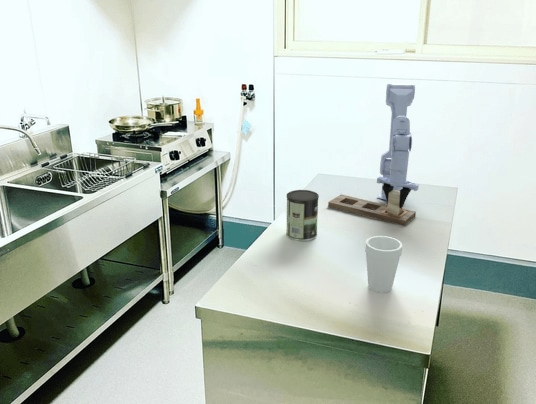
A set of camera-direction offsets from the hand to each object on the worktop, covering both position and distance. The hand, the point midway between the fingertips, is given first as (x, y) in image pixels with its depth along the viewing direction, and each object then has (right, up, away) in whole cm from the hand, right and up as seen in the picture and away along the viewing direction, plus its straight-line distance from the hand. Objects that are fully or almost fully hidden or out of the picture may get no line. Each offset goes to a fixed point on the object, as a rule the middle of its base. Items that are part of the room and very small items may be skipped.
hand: (395, 205), depth 187 cm
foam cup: (-15, -22, -43) cm, 51 cm away
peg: (0, -3, +1) cm, 3 cm away
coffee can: (-34, -10, -12) cm, 38 cm away
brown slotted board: (-7, -2, +6) cm, 10 cm away
